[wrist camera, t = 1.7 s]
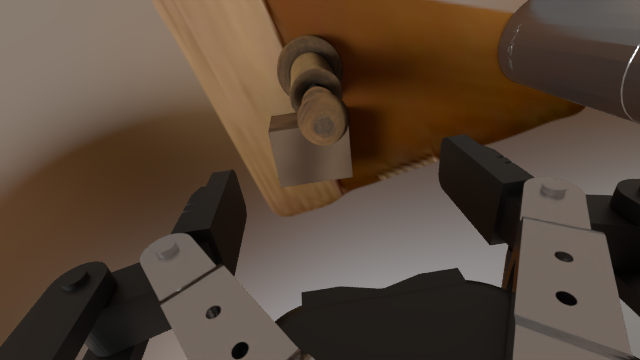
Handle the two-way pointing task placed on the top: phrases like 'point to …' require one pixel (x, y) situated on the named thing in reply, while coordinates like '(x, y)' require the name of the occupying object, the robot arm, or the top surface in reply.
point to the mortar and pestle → (314, 88)
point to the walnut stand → (306, 154)
